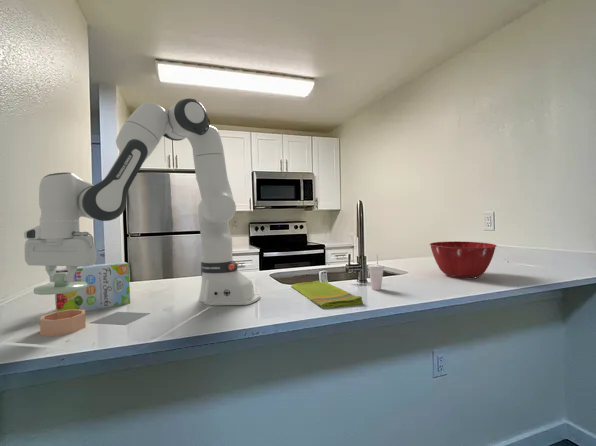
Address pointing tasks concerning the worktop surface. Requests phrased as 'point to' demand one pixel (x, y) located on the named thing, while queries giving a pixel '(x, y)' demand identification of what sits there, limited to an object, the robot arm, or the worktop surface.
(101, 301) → the snack box
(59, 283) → the lid
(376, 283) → the smoothie
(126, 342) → the worktop surface
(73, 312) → the bowl
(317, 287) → the dish towel
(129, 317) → the mat
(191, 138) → the robot arm
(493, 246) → the mixing bowl
